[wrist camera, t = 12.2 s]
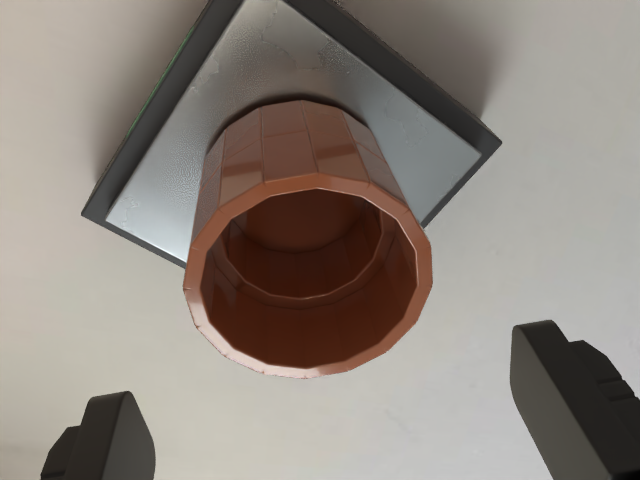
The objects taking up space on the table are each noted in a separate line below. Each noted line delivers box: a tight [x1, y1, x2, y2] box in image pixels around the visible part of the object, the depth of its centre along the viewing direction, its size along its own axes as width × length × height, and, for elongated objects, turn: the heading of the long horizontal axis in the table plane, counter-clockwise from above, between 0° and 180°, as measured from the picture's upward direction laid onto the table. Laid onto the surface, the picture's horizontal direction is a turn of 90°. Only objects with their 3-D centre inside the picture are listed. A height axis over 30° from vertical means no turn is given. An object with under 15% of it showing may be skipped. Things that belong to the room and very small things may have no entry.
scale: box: [81, 0, 502, 269], centre depth 22 cm, size 11×11×2 cm
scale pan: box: [104, 0, 482, 263], centre depth 21 cm, size 10×10×1 cm
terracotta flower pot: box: [183, 100, 433, 379], centre depth 18 cm, size 6×6×6 cm
